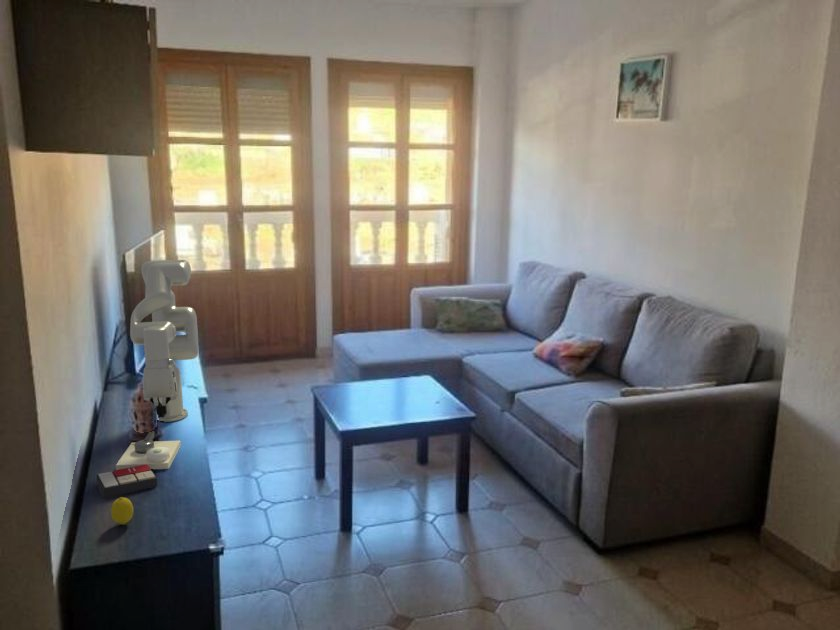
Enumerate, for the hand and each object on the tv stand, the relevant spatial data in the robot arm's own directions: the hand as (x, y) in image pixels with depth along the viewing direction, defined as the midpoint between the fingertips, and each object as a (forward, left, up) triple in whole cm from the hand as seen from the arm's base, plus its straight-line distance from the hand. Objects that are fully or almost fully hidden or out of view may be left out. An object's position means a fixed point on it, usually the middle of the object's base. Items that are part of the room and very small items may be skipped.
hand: (162, 416), depth 233 cm
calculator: (+26, -5, -13) cm, 29 cm away
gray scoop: (+1, -5, -10) cm, 11 cm away
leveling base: (+7, -3, -12) cm, 14 cm away
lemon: (+50, +1, -12) cm, 51 cm away
